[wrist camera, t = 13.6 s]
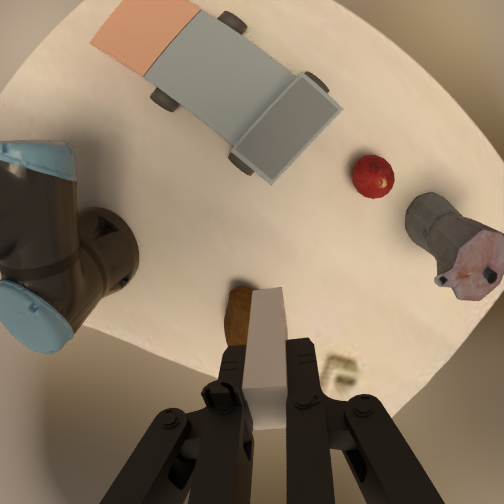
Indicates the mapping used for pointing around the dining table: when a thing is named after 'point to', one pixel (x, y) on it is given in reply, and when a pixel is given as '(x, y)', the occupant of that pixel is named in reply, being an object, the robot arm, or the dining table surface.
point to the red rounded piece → (373, 176)
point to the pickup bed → (242, 94)
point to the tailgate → (143, 30)
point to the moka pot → (457, 247)
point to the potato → (238, 316)
